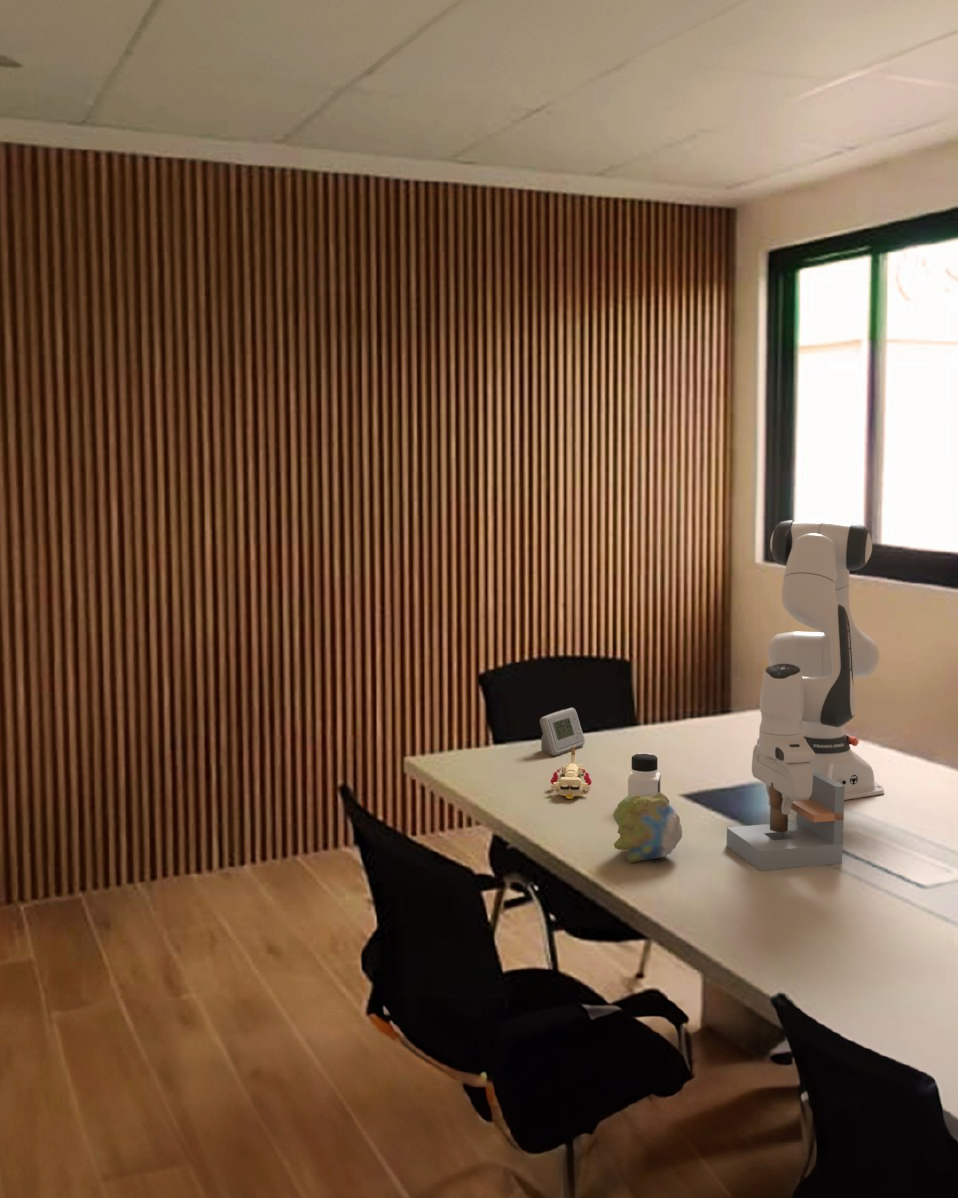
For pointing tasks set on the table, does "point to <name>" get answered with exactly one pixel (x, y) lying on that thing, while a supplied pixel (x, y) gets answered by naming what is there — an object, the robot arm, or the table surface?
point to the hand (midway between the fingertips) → (779, 810)
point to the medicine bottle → (644, 775)
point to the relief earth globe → (647, 826)
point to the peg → (777, 812)
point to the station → (797, 832)
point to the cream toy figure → (571, 779)
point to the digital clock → (561, 732)
